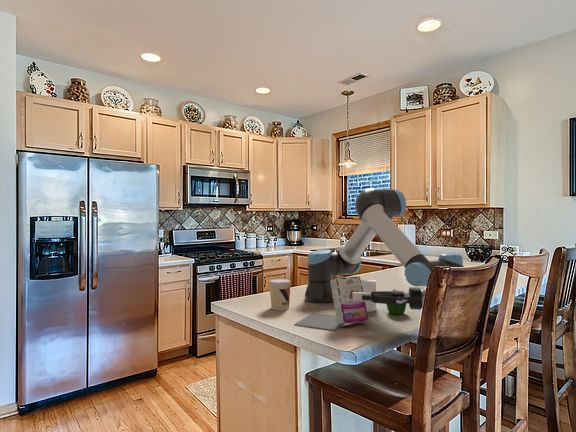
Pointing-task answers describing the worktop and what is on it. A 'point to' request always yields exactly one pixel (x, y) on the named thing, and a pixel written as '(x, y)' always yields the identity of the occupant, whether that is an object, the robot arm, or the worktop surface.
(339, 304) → the candy bar box
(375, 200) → the robot arm
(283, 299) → the coffee cup
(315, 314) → the rubber mat
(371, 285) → the base with upright slab
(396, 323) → the worktop surface
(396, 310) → the bell pepper
